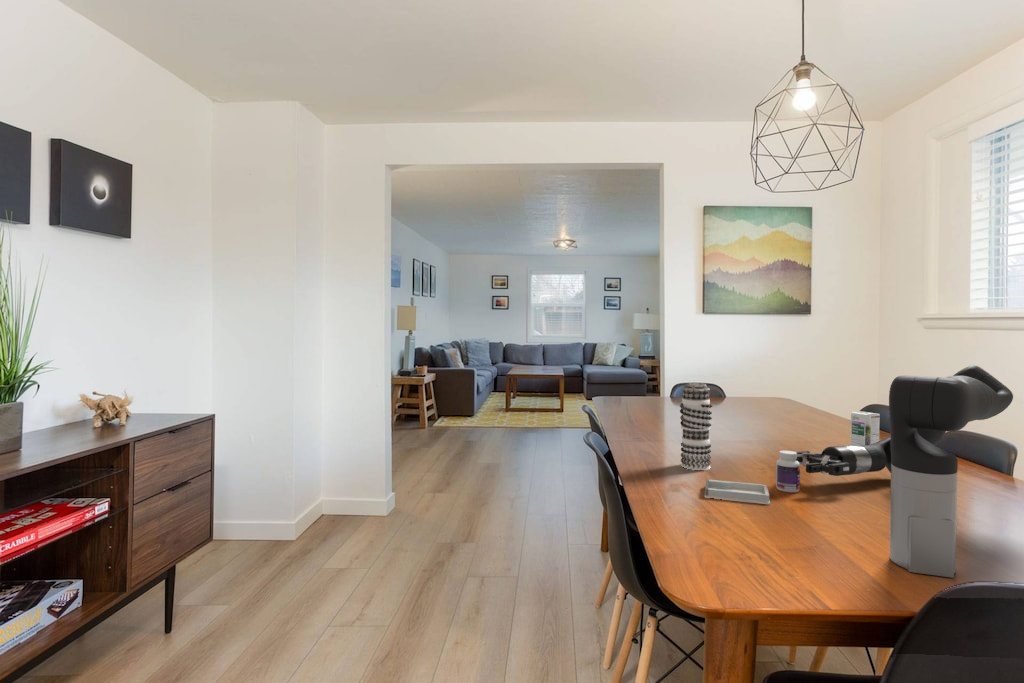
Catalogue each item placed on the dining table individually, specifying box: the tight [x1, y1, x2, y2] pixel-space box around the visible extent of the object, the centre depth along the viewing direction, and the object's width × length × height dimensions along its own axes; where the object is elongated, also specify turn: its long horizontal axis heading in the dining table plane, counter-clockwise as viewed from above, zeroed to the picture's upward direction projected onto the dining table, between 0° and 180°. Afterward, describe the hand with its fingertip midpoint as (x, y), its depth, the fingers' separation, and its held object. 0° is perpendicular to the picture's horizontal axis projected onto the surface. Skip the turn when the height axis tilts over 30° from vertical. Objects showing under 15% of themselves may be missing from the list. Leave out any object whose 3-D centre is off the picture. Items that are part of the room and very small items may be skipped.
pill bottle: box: [775, 450, 801, 493], centre depth 136 cm, size 5×5×10 cm
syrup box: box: [850, 410, 881, 446], centre depth 166 cm, size 6×6×14 cm
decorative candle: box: [679, 382, 713, 471], centre depth 158 cm, size 9×9×25 cm
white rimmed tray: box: [704, 478, 771, 506], centre depth 132 cm, size 14×10×2 cm
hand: (794, 464), depth 136 cm, fingers open, 8 cm apart
